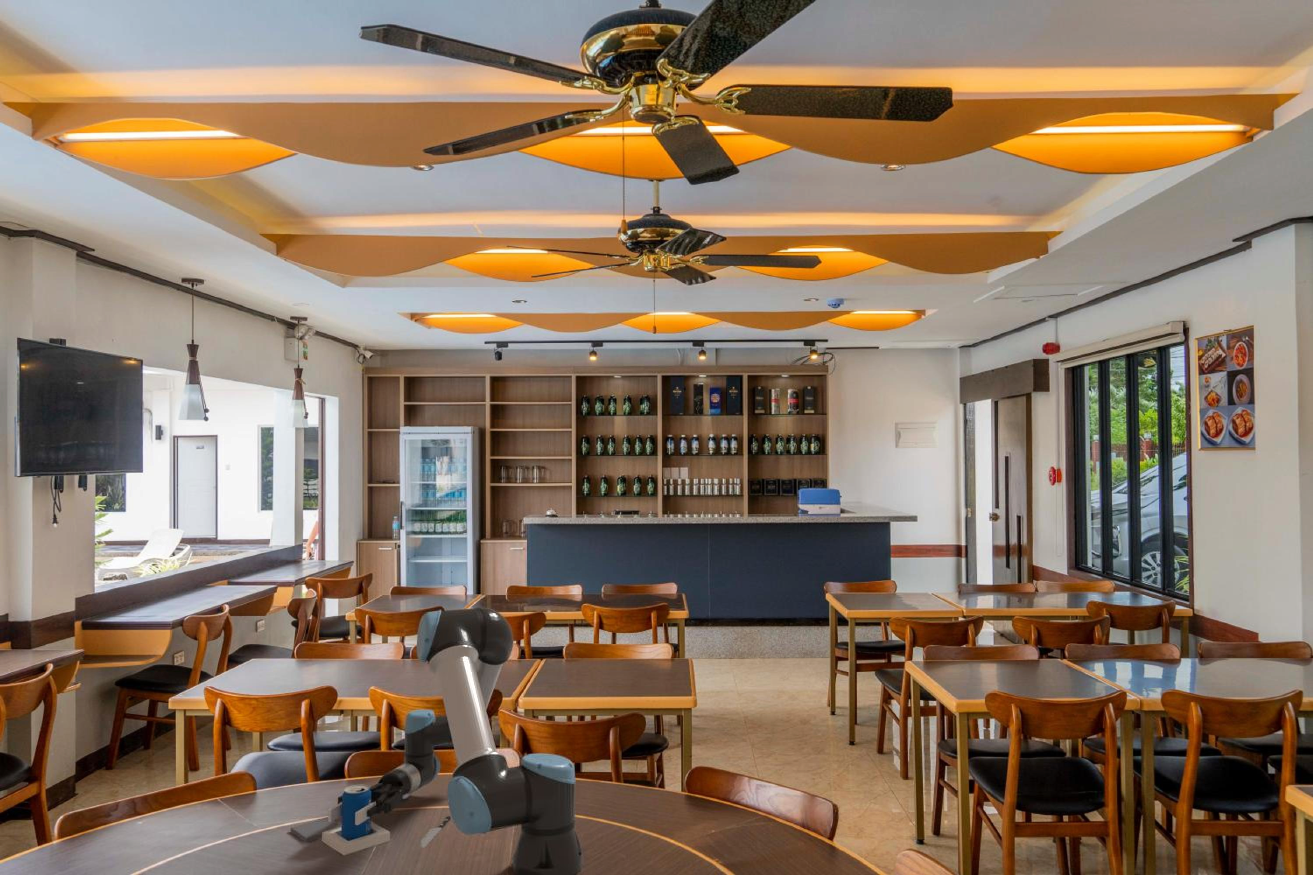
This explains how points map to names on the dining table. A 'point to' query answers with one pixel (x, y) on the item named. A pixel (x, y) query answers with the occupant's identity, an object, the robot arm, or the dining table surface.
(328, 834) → the can holder
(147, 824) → the dining table surface
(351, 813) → the beverage can
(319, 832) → the coaster
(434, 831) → the chef's knife
